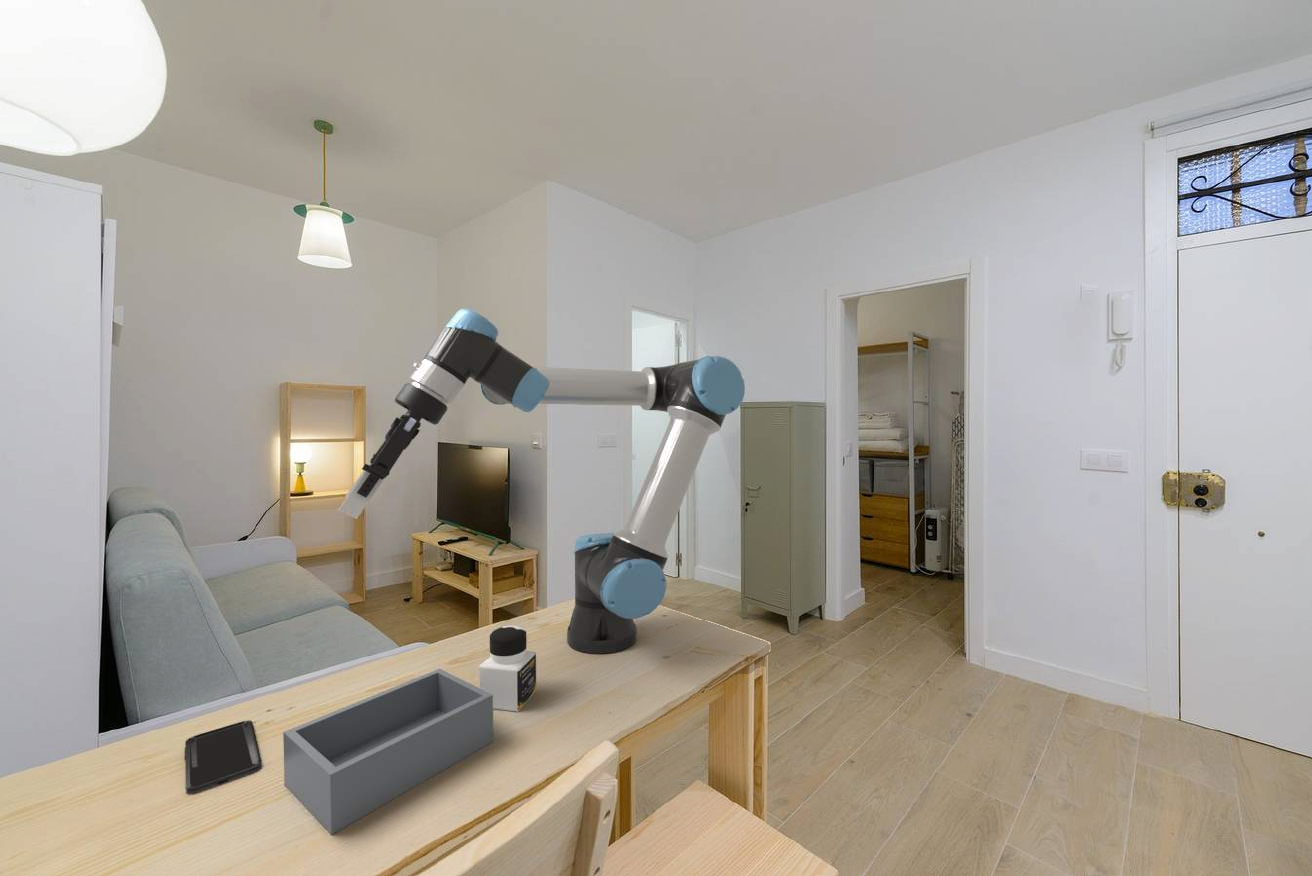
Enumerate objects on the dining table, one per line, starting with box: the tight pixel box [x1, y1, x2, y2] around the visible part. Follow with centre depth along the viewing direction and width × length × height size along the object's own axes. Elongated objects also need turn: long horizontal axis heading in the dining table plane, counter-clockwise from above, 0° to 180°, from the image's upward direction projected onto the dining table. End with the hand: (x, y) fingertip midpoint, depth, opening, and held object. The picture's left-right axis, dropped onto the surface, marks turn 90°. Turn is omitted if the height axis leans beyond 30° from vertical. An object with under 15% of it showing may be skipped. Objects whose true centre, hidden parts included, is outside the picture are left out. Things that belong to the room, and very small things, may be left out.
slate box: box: [282, 668, 494, 836], centre depth 73 cm, size 22×14×7 cm, turn 143°
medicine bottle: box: [478, 625, 537, 712], centre depth 90 cm, size 7×7×12 cm
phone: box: [183, 719, 262, 795], centre depth 74 cm, size 8×1×15 cm
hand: (350, 507), depth 82 cm, fingers open, 13 cm apart
